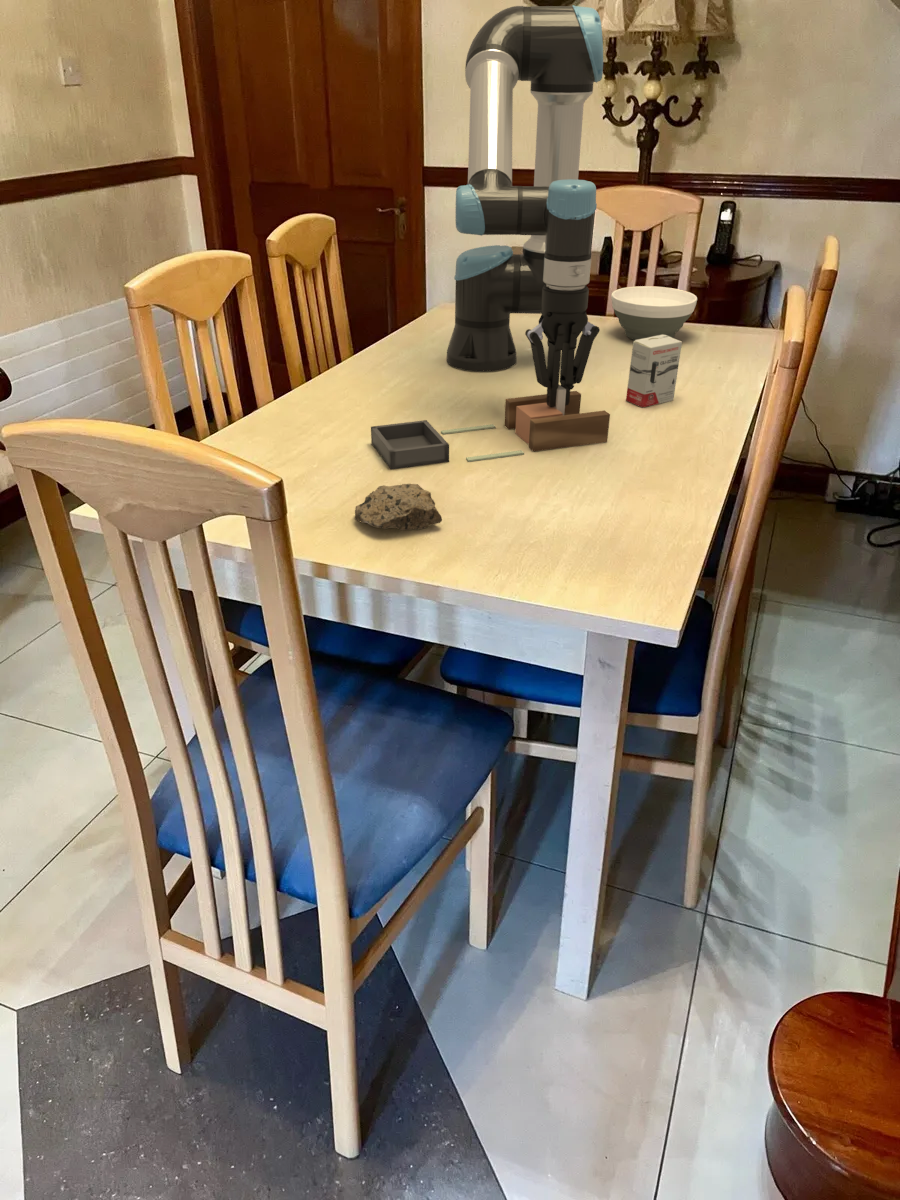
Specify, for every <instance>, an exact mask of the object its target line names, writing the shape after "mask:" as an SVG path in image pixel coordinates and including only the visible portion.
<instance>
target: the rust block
mask: <svg viewBox="0 0 900 1200" xmlns="http://www.w3.org/2000/svg"><path fill="white" fill-rule="evenodd" d="M555 416H563V413H561V412H560V411H559V410H557V409H556V408H555V407H550V406H548V405H547V402H546V403H538V404H530V405H522V406H516V428H515V431H514V432H515V435H516V436H517V437H519V438H520V439H521V440H522V441H524V442H525V443H526V444H527V445H528V446H529V434H530V420H531V419H539V418H547V417H555Z"/></svg>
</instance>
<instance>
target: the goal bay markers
mask: <svg viewBox="0 0 900 1200" xmlns="http://www.w3.org/2000/svg"><path fill="white" fill-rule="evenodd" d="M490 429H496V425H495V424H494V423H491V424H484V425H483V424H482V425H476V426H466V427H459V428H452V429H451V428H450V429H445V430H444V429H443V430H440V434H442V435H450V434H458V433H465V432H475V431H482V430H490ZM522 455H525V452H524V451H523V450H522V449H520V450H513V451H505V452H498V453H491V454H483V455H477V456H476V455H475V456H468V457H465V460H466V461H467V463H470V462H478V461H485V460H492V459H499V458H501V459H502V458H508V457H513V456H522Z"/></svg>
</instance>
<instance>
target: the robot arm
mask: <svg viewBox="0 0 900 1200" xmlns="http://www.w3.org/2000/svg"><path fill="white" fill-rule="evenodd" d="M602 28H603V27H602V20H601V17H600V14H599V13H598V11H597V10H596V9H595V8H593V7H587V6H577V5H572V6H571V5H570V6H569V5H568V6H566V5H564V6H563V5H561V6H560V5H559V6H558V5H557V6H553V5H550V6H549V5H546V6H540V5H539V6H537V5H536V6H535V5H534V6H533V5H531V6H524V5H515V6H511V7H507V8H505V9H502V10H500V11H499V12H496V13H495V14H494V15H493V16H492V17H490V18H489V19H488V20H487V21H486V22H485V23H484V24H483V25H482V27H480V29H479V30H478V32H477V33H476V35H475V36H474V38H473V39H472V42H471V43H470V46H469V48H468V52H467V55H466V58H465V67H464V68H465V69H464V72H465V73H464V77H465V82H466V85H467V86H468V88H469V89H470V96H469V97H470V98H469V127H468V128H469V129H468V133H469V134H468V166H467V168H468V169H467V184H466V185H465V184H464V185H459V186H458V187H457V188H456V191H455V228H456V231H457V232H459V233H460V234H466V235H474V236H481V237H482V236H496V235H497V236H499V235H500V236H501V235H502V236H508V235H509V236H510V235H511V236H513V235H515V236H530V237H529V238H528V240H527V241H525V242H524V243H523V249H522V253H521V254H519V253H518V254H517V253H515V254H514V250H513V248H512V247H511V246H510V245H497V244H494V245H486V246H480V247H475V248H471V249H468V250H465V251H463V252H461V253H459V255H458V256H457V258H456V262H455V275H454V277H453V278H454V280H455V298H454V301H455V302H454V303H455V304H454V328H453V331H452V333H451V337H450V340H449V343H448V346H447V349H446V364H448V365H449V366H451V367H452V368H455V369H458V370H462V371H469V372H496V371H503V370H506V369H510V368H512V367H514V366H515V365H516V364H517V350H516V349H517V348H516V345H515V342H514V337H513V335H512V334H513V333H512V331H511V327H510V326H511V325H510V323H511V321H510V319H511V317H510V316H511V314H527V315H529V314H530V315H531V314H535V315H536V314H537V315H540V317H539V319H538V324H537V325H536V326H535V327H533V328H532V329H530V328H528V329H526V330H525V336H526V338H527V340H528V342H529V343H530V348H531V354H532V361H533V365H534V371H535V376H536V382H537V383H538V384H539V385H541V386H542V387H544V388H546V394H547V400H546V402H547V405H548V406H550V407H555V408H556V409H557V410H559V411H560V412H561V413H563V415H564V413H565V405H568V404H569V401H570V391H571V390H573V389H574V387H575V384H580V383H582V380H583V377H584V374H585V370H586V367H587V363H588V361H589V356H590V354H591V350H592V346H593V343H594V341H595V339H596V337H597V336H598V334H599V333H600V327H599V326H597V325H595V324H593V323H591V322H590V321H589V317H588V315H587V309H588V305H589V304H588V303H589V292H590V289H589V287H588V286H587V285H588V284H589V283H590V279H591V277H590V275H591V267H592V266H591V264H592V247H593V237H594V229H595V228H594V227H595V226H594V225H595V216H596V210H597V187H596V184H595V183H594V182H592V181H588V180H585V179H579V172H580V157H581V148H582V147H581V146H582V145H581V144H582V143H581V142H582V132H583V131H582V130H583V115H584V104H585V102H586V101H587V100H588V99H589V98H590V96H592V94H593V93H594V92H593V91H594V83H596V84H598V82H601V80H602V79H603V76H604V75H603V73H604V71H603V68H604V40H603V39H604V37H603V30H602ZM518 81H520V82H530V90H529V91H530V94H531V95H532V96H533V98H534V99H535V100H536V102H537V117H536V118H537V119H536V137H535V138H536V140H535V153H534V155H535V158H534V178H533V186H526V185H525V186H522V185H513V118H514V117H513V114H514V113H513V111H514V110H513V107H514V106H513V105H514V104H513V103H514V102H513V99H514V98H513V96H514V95H513V94H514V93H513V91H514V88H515V87H516V86H517V84H518ZM543 333H544V334H543ZM543 335H544V336H545V337H546V339H547V342H546V343H547V347H548V350H547V360H546V355H545V349H544V345H543V342H542V340H543V338H544V337H543ZM579 336H580V338H579V341H578V337H579ZM577 342H578V345H577ZM575 349H576V350H575Z"/></svg>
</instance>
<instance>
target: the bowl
mask: <svg viewBox="0 0 900 1200" xmlns="http://www.w3.org/2000/svg"><path fill="white" fill-rule="evenodd" d="M610 299H611V306H612V309H613V311H614V314H615V316H616V317H617V319H618V323H619V325H620V326H621V327H622V329H624V334H625V336H626V337H627V338H628V339H630V340H632V341H635V340H638V339H643V338H648V337H653V336H658V335H667V336H669V337H672V338H674V337H675V335H676V333H677V332H678V331H680V330H681V329H682V328H683V327H684V324H685V322H686V321H687V320H689V318H690V317H691V315H692V314H693V312H694V310H695V308H696V305H697V301H698V297H697V295H695V294H694V293H692V292H690V291H686V290H683V289H678V288H672V287H667V286H666V287H665V286H651V285H649V286H648V285H644V286H643V285H642V286H641V285H640V286H639V285H638V286H627V287H622V288H618V289H615V290H613V291H612V293H611V297H610Z"/></svg>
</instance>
